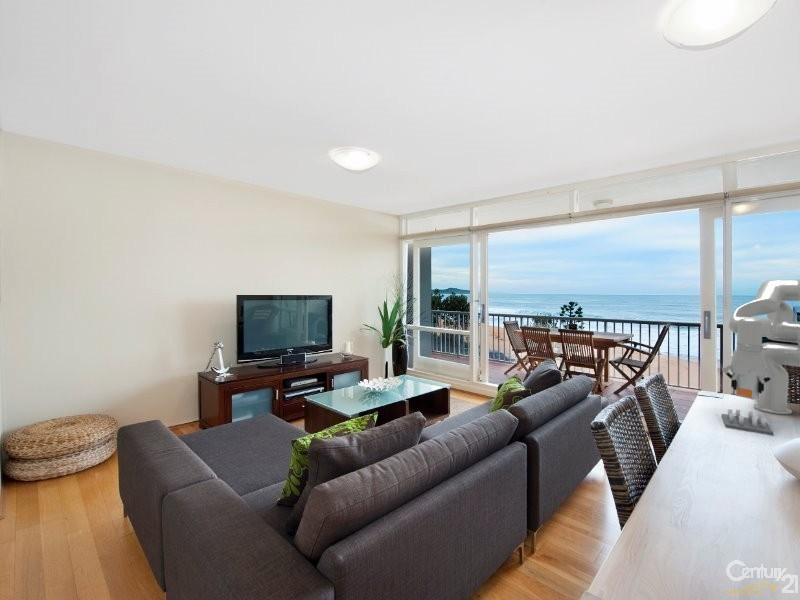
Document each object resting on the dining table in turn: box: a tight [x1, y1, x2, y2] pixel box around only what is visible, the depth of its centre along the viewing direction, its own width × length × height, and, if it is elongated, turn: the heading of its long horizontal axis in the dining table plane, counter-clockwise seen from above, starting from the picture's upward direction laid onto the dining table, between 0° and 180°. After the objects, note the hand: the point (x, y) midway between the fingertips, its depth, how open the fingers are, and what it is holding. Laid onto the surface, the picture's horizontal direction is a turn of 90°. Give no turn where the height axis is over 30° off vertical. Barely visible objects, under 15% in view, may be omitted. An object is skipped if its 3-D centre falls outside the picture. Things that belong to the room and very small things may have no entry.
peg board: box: [721, 409, 774, 436], centre depth 155 cm, size 16×14×5 cm
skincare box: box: [735, 370, 759, 401], centre depth 155 cm, size 6×4×12 cm
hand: (747, 390), depth 155 cm, fingers closed on skincare box, 7 cm apart
